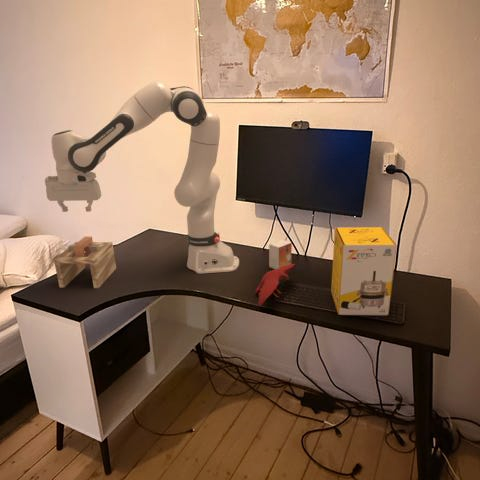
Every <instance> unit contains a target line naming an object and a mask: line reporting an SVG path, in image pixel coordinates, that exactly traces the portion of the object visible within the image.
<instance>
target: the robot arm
mask: <svg viewBox="0 0 480 480" xmlns="http://www.w3.org/2000/svg"><path fill="white" fill-rule="evenodd" d="M170 112H171V113H173V114H174V116H175V117H176V118H177V119H178V121H179V120H180V121H181V122H183V123H185V124H187V125H189V126H190V136H189V146H188V152H187V158H186V163H185V165H184V168H183V171H182V175H181V177H180V179H179V181H178V183H177V185H175V188H174V198H175V200H176V202H177V203H178V204H179V205H181V206H182V207H185V208H187V207H189V210H188V213H187V215H186V225H187V234H186V240H187V247H188V255H187V256H188V257H187V261H186V262H187V263H186V267H187V268H188V269H189V270H192V271H194V272H195V273H196V274H212V273H229V272H234V271H236V270H238V268H239V266H240V259H239V258H238V256H236V255H234V252H233V249H232V247H231V246H229V245H227V244H225V242H223V241H221V240H220V239H221V238H220V232H216V231H215V208H216V202H217V197H218V196H217V194H218V192H219V190H220V187H221V181H220V178H219V176H218V175H217V174H216V173H215V172H213V169H214V168H215V166H216V163H217V157H218V153H219V152H218V151H219V146H220V145H219V143H220V136H221V120H220V117H219V115H218V113H215V112H214V111H212V110H209V109H208V110H207V109H206V108H205V106H204V102H203V100H202V98H201V95H200V94H199V93H198V92H197V91H196V90H195V89H194V88H192V87H189V86H176V87H169V85H167V84H166V83H164V82H163V81H161V80H154V81H152V82H151V83H149V84H146V85H145V86H144V87H141V89H139V90H138V91H137V92H135V93H134V94H133V95H131V97H130V98H128V100H126V102H125V103H124V104H123V105H122V107H121V108H120V109H119V110H118V112H117V113H116V114H115V115H114V116H113V118H112V119H111V120H110V122H109V123H107V125H106V126H103V128H102V129H100V130H99V131H98V132H97V133H96V134H94V135H93V136H92V137H87V136H83V135H81V134H78V133H77V132H75V131H74V130H71V129H70V130H69V129H68V130H62V131H59V132H56V133H54V134H53V135H52V136H51V151H52V155H53V160H54V161H55V171H56V175H49V176H47V177H45V179H44V184H45V189H46V190H45V191H46V198H47V200H49V202H50V201H51V202H54V201H55V202H57V204H58V206H60V207H61V208H60V209H61V211H62V213H66V212H68V211H69V209H68V206H67V205H65V203H64V202H65V201H70V202H71V201H73V202H74V201H76V202H77V201H78V202H79V201H80V202H81V201H86V203H87V206H85V207H84V208H85V212H89V213H90V212H92V205H93V202H94V201H98V200H100V199H101V197H102V191H101V186H100V184H99V182H98V180H97V179H96V178H97V175H96V172H93V171H94V169H95V168H96V167H97V166H98V165H99V164H101V163H102V162H103V161H104V160H105V158H106V156H107V151H108V150H110V148H112V147H113V146H115V144H116V143H118V142H119V141H120V140H122V139H123V138H125V137H127V136H129V135H132V134H134V133H137V132H138V131H141V130H143V129H144V128H147V127H148V126H149V125H151V124H152V123H154V122H155V121H157V119H158V118H160V117H161V116H162V115H164V114H166V113H170Z"/></svg>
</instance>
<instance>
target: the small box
mask: <svg viewBox="0 0 480 480" xmlns="http://www.w3.org/2000/svg"><path fill="white" fill-rule="evenodd" d="M292 244H293V243H292V242H291V241H288V240H285V239H280V240H277V241H275V242H273V243H269V244H268V245H269V246H268V247H269V248H268V250H269V253H268V255H269V256H268V258H269V259H268V264H269V266H268V267H269V268H271V269H272V270H275V269H279V268H280V267H282V266H286V265H290V264H292V247H293V246H292Z"/></svg>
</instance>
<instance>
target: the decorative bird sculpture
mask: <svg viewBox="0 0 480 480" xmlns="http://www.w3.org/2000/svg"><path fill="white" fill-rule="evenodd" d="M295 266H296V263H291V264H290V265H286V266H282V267H280V268H279V269H272V270H270V271H267V272H266V273H265V274H264V275H263V276H262V278H261V281H260V283H259V284H258V286H257V288H256V289H255V294H258V296H259V297H258V303H257V304H258V305H259V307H261V306H262V305H263V304H264V303H266V301H267V299H268V298H269V297H270V296H271V295H274V296H276V298H279V297H280V295H281V294H282V293H283V291H279V290H278V285H279V284H280V281H281V280H282V279H283V278H285V279H286V280H289V275H288V274H287V273H289V272H290V271H291V270H292V269H293V267H295ZM274 291H277V292H278V294H279V295H277V294H276V293H275V292H274Z"/></svg>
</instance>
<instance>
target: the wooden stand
mask: <svg viewBox="0 0 480 480" xmlns="http://www.w3.org/2000/svg"><path fill="white" fill-rule="evenodd" d="M77 242H78V241H75V242H74V243H73V244H69V245H68V246H67V248H66V249H65V250H63V251H62V252H61V253H60V254H58V255H57V256H56V257H55V258H54V259H53V264H54V267H55V272H56V273H55V274H56V277H57V282H58V286H59V288H66V287H67V286H68V285H69V284H70V283H71V282H72V281H73V280H74V279H76V277H77V276H78V275H79V274H80V273H81V272H83V270H84V269H85V268H86V266H85V267H77V263H87V264H89V267H90V268H89V269H90V274H91V279H92V284H93V285H92V286H93V289H100V288H101V286H102V285H103V284H104V283H105V282H106V281H107V279H108V278H109V277H110V276H111V275H112V274H113V273H114V271H115V270H116V269H117V264H116V263H117V262H116V259H115V251H114V246H113V242H112V241H108V242H107V241H93V245H88V246H86V247H85V248H84V252H85V251H91V252H92V253H91V254H90V255H89V256H87V257H86V256H85V257H75V252H74V247H73V246H74V245H75V244H76V243H77Z"/></svg>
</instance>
